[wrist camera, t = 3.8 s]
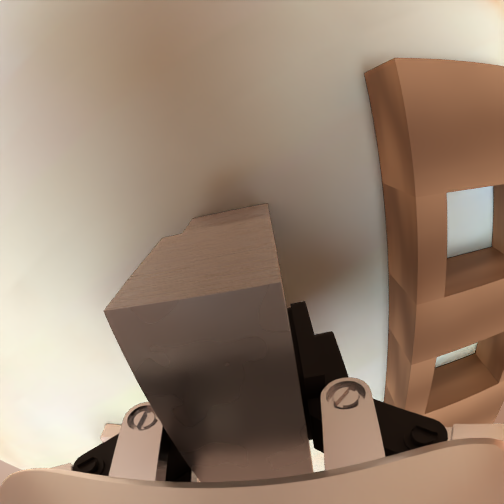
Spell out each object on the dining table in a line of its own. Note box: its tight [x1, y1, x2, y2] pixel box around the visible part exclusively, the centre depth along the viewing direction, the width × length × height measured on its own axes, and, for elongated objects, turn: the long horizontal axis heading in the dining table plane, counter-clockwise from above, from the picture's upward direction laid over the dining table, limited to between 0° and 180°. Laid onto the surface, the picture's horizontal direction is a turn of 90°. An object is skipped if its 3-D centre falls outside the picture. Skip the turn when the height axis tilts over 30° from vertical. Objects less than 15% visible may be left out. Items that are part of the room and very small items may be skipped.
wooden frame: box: [364, 58, 504, 427], centre depth 12 cm, size 20×8×3 cm, turn 12°
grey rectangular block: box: [104, 203, 314, 482], centre depth 10 cm, size 10×3×8 cm, turn 12°
